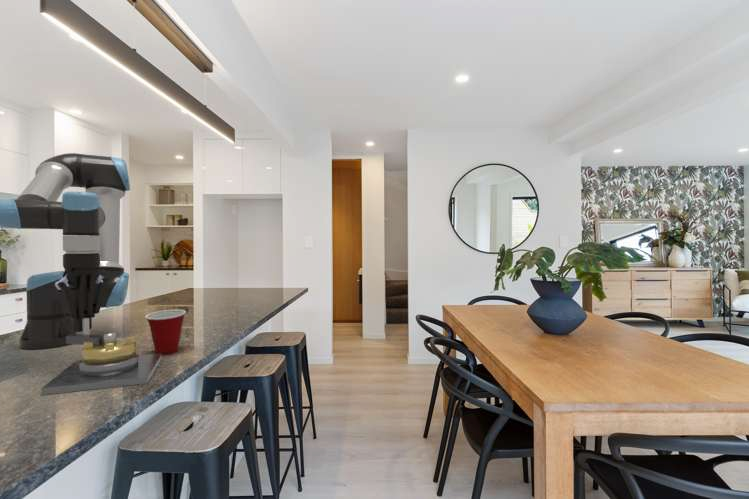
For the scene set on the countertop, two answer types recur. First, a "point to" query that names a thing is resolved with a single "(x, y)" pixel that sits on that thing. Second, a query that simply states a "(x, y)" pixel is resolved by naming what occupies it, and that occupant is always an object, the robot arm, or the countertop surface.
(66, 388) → the flange plate
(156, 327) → the plastic cup
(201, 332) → the countertop surface
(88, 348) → the brass dial with lever
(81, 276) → the robot arm
